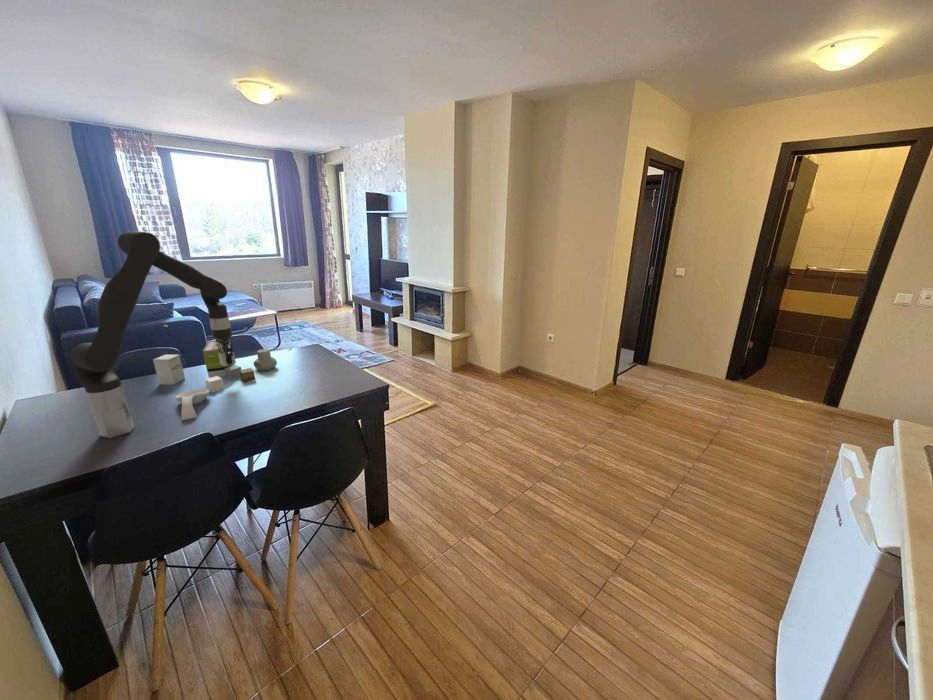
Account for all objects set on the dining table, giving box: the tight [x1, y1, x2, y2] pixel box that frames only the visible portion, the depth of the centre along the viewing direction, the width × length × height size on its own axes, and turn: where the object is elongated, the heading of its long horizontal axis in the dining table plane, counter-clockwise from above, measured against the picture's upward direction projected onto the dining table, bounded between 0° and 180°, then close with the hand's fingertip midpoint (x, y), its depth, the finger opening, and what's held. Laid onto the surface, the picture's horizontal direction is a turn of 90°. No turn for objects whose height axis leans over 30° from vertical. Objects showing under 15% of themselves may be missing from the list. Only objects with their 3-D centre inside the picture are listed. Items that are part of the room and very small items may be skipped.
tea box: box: [202, 341, 236, 378], centre depth 189 cm, size 15×10×15 cm
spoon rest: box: [175, 388, 210, 421], centre depth 155 cm, size 24×12×7 cm, turn 30°
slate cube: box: [225, 364, 242, 380], centre depth 186 cm, size 5×5×5 cm
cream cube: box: [204, 376, 224, 393], centre depth 172 cm, size 5×5×5 cm
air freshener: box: [253, 348, 278, 371], centre depth 195 cm, size 11×8×10 cm
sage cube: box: [218, 352, 237, 366], centre depth 174 cm, size 5×5×5 cm
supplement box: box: [152, 354, 186, 386], centre depth 178 cm, size 7×7×13 cm
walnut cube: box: [239, 367, 256, 384], centre depth 182 cm, size 5×5×5 cm
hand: (227, 362), depth 174 cm, fingers closed on sage cube, 5 cm apart
